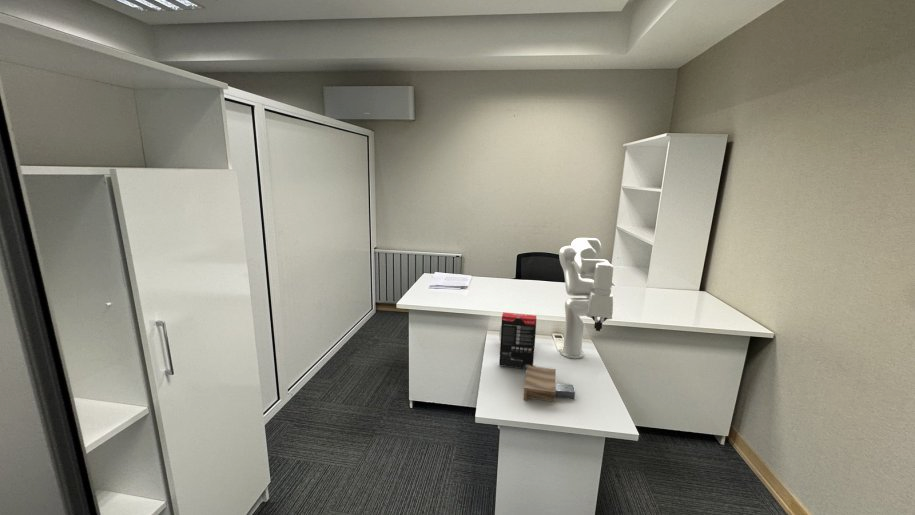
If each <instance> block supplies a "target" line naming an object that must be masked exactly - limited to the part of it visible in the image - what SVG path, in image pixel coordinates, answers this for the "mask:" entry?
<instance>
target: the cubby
mask: <svg viewBox="0 0 915 515" xmlns="http://www.w3.org/2000/svg"><path fill="white" fill-rule="evenodd" d="M556 371H557V370H556V369H555V368H548V367H542V366H541V367H540V366H535V365H533V366H527V369H526V373H525V374H526V375H525V380H524V384H523V385H524V386H523V401H526V402H527V399H528V398H529V399H535V400H541V401H548V402H556V401H555V399H556V398H555V394H556V382H557V380H556V379H557V376H556V373H557V372H556Z"/></svg>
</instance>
